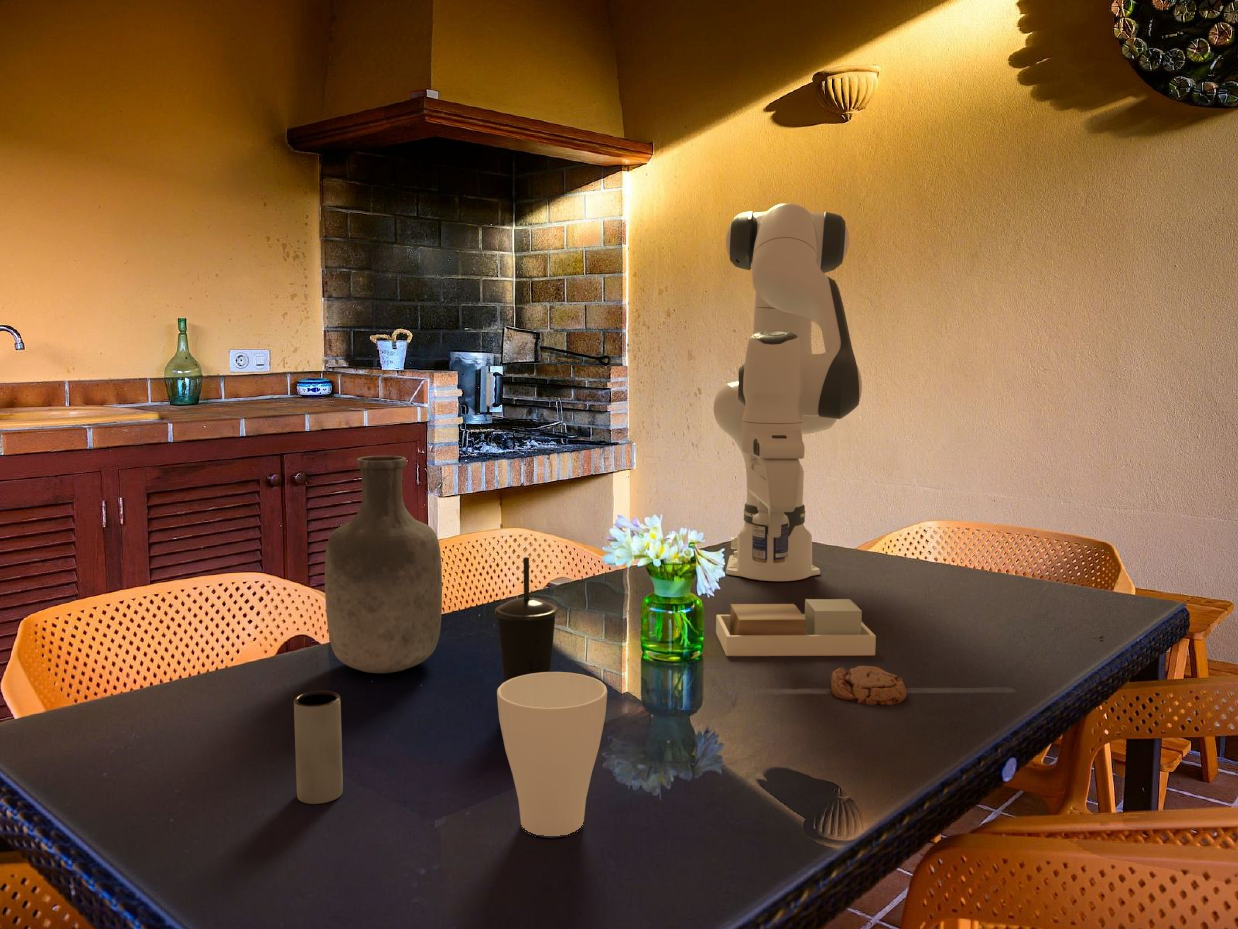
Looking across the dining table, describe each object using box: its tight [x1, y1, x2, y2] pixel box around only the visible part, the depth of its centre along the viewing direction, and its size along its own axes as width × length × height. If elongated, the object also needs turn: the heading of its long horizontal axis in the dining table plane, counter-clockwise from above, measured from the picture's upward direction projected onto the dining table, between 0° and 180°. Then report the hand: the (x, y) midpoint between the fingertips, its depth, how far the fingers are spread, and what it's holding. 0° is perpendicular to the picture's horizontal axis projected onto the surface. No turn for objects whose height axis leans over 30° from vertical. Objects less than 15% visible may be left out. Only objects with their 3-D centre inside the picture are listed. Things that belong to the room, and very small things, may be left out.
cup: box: [496, 671, 608, 836], centre depth 99 cm, size 10×10×14 cm
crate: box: [715, 613, 877, 657], centre depth 157 cm, size 12×22×4 cm, turn 92°
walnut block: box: [729, 603, 807, 635], centre depth 157 cm, size 9×10×5 cm
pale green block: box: [804, 598, 863, 635], centre depth 157 cm, size 7×7×6 cm
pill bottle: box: [752, 500, 788, 567], centre depth 155 cm, size 5×5×10 cm
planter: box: [293, 690, 344, 805], centre depth 105 cm, size 4×4×10 cm
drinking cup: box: [494, 556, 559, 683], centre depth 127 cm, size 8×8×20 cm
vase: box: [324, 455, 443, 674], centre depth 144 cm, size 16×16×30 cm
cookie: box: [830, 665, 908, 706], centre depth 138 cm, size 10×11×3 cm
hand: (769, 532), depth 155 cm, fingers closed on pill bottle, 5 cm apart
